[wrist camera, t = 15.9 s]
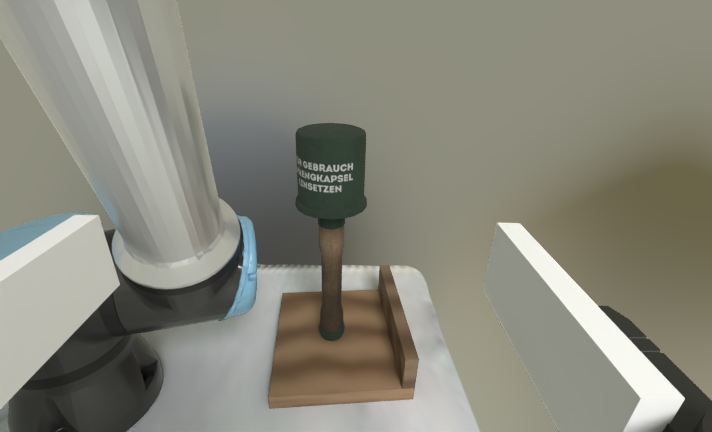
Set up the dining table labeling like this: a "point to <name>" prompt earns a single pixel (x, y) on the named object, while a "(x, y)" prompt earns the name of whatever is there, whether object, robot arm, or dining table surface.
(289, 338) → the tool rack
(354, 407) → the dining table surface
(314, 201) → the stick grenade
